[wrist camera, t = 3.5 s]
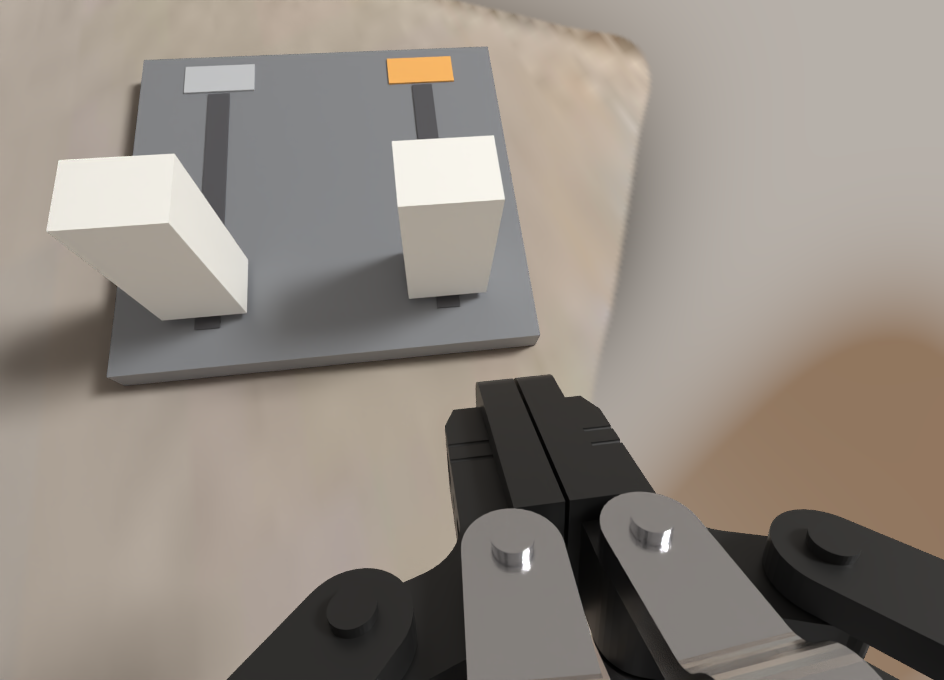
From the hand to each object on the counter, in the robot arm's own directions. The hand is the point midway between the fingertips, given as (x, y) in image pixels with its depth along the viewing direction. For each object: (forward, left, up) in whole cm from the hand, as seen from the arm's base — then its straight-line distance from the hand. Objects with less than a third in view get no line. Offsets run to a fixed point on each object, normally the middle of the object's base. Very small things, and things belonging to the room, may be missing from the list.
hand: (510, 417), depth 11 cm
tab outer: (0, +11, -14) cm, 18 cm away
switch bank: (-6, +17, -16) cm, 24 cm away
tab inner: (-12, +11, -14) cm, 21 cm away
